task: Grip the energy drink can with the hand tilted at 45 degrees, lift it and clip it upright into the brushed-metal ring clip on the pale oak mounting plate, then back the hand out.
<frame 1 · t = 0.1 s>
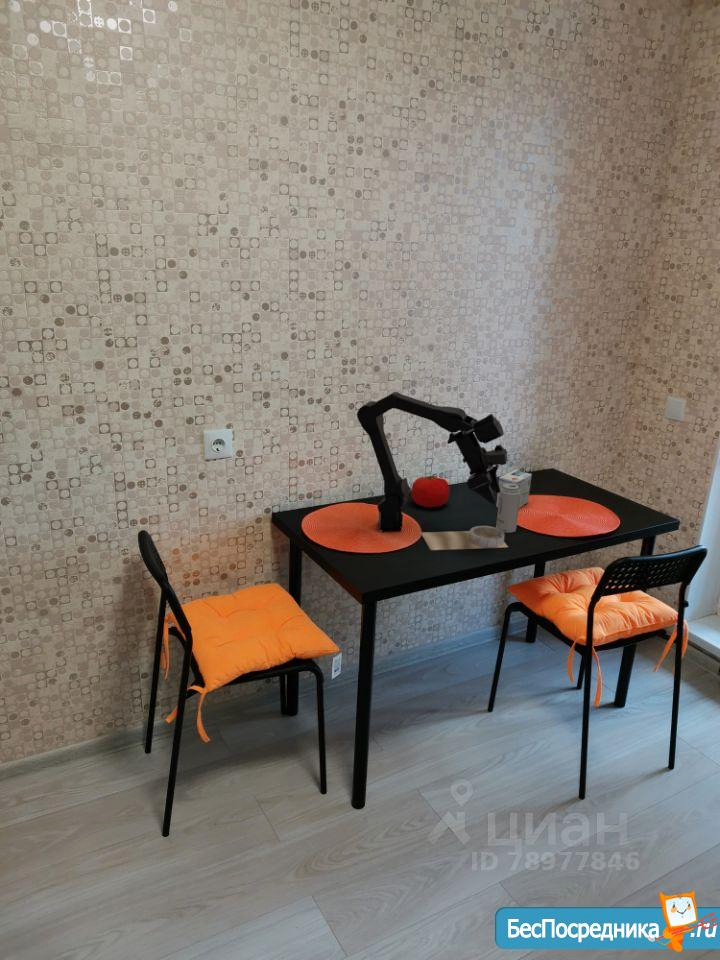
hand: (496, 497, 210), 15 cm above the table, tool tilted 35°, fingers open, 9 cm apart
mounting plate: (463, 543, 215), on the table
energy drink can: (505, 532, 224), on the table
light bulb box: (512, 506, 245), on the table
tomato: (429, 505, 242), on the table
ring clip: (486, 540, 215), resting on mounting plate
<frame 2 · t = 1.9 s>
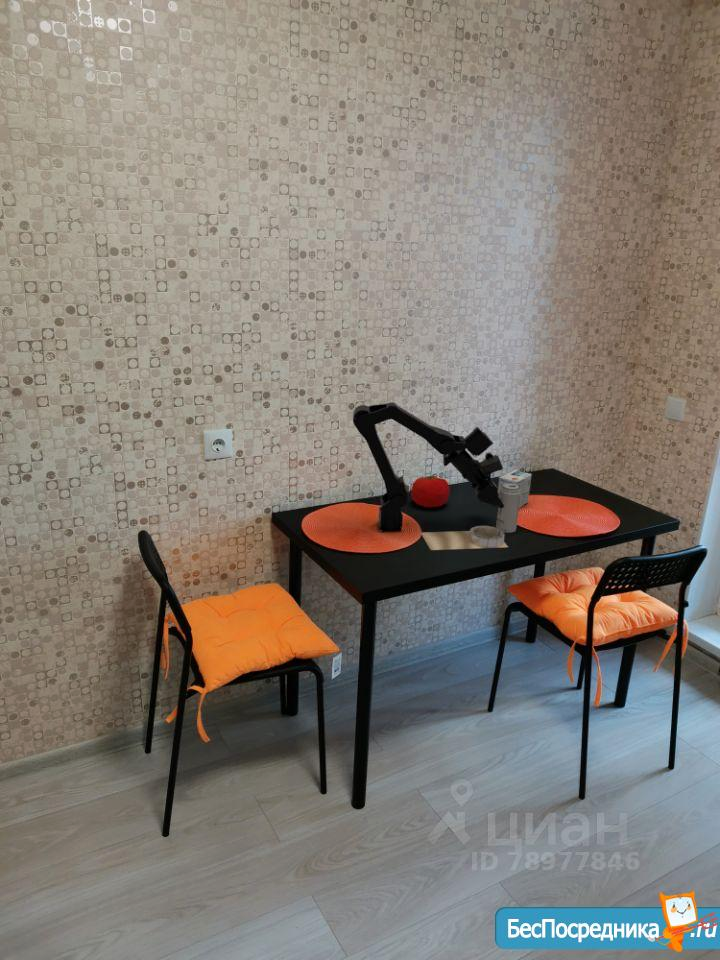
hand: (500, 501, 221), 10 cm above the table, tool tilted 45°, fingers open, 9 cm apart
nothing on the table moved.
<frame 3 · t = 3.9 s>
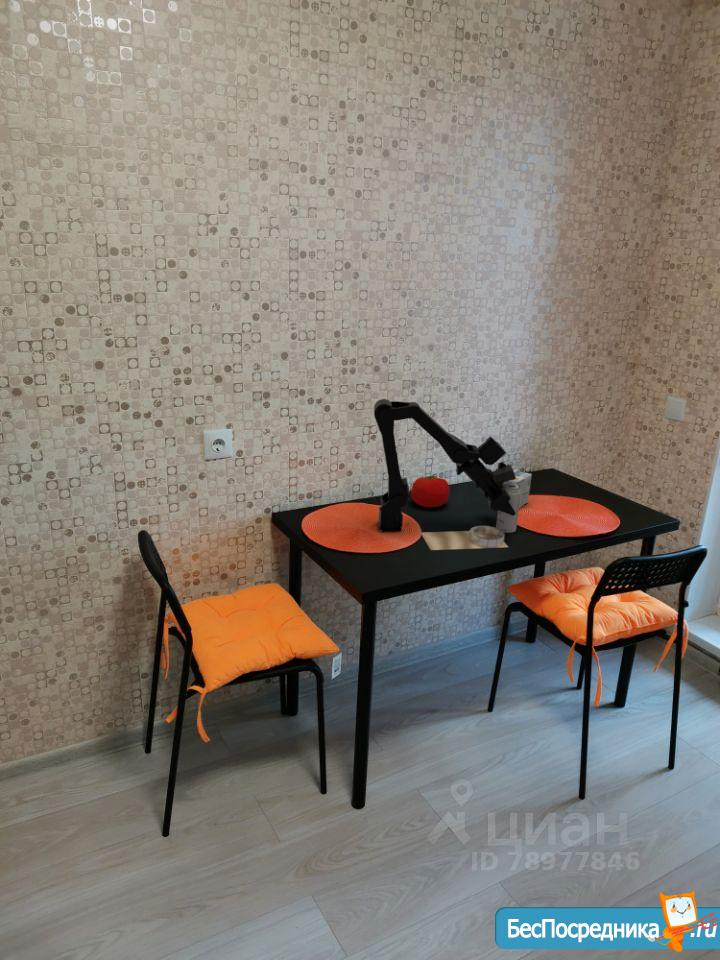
hand: (512, 510, 222), 7 cm above the table, tool tilted 45°, fingers closed on energy drink can, 6 cm apart
energy drink can: (505, 532, 224), on the table, touching gripper
everything else where it was.
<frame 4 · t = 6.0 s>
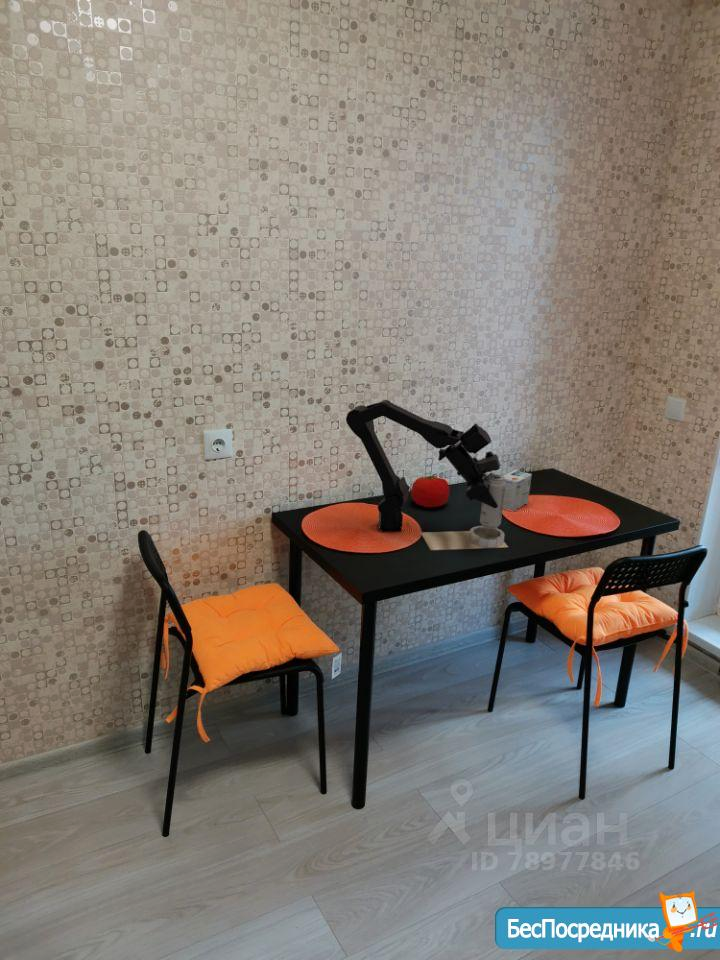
hand: (497, 503, 212), 13 cm above the table, tool tilted 45°, fingers closed on energy drink can, 6 cm apart
energy drink can: (489, 525, 214), point 5 cm above the table, touching gripper
everything else where it was.
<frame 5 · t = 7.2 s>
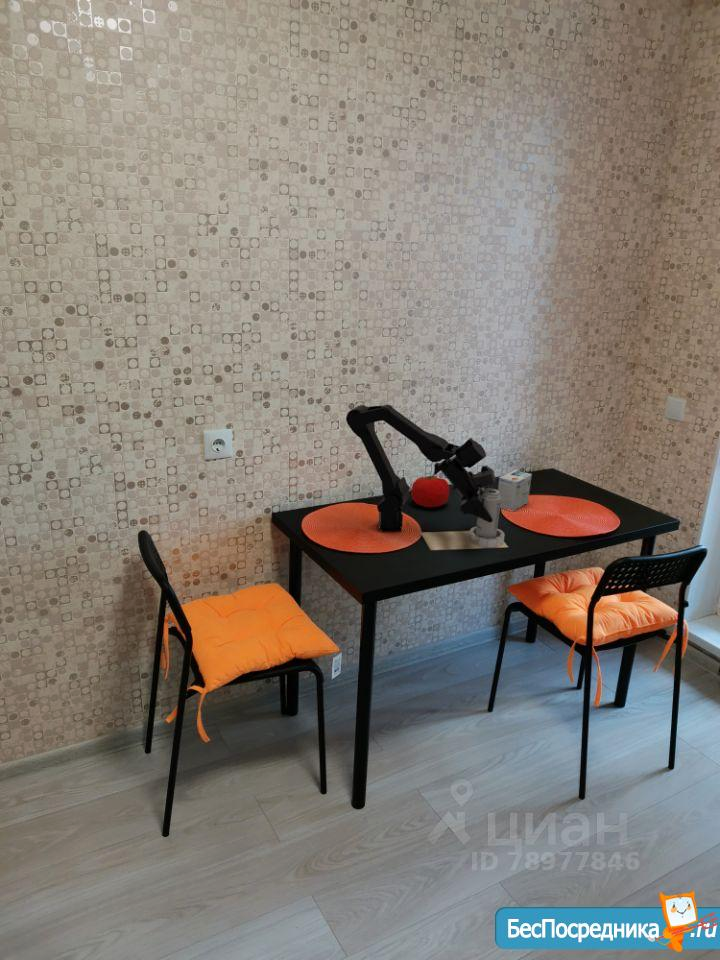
hand: (492, 517, 212), 9 cm above the table, tool tilted 45°, fingers closed on energy drink can, 6 cm apart
energy drink can: (485, 539, 215), point 1 cm above the table, touching gripper
everything else where it was.
when the fingers open (8 cm above the table, at t = 8.1 s): energy drink can stays where it is, resting on mounting plate.
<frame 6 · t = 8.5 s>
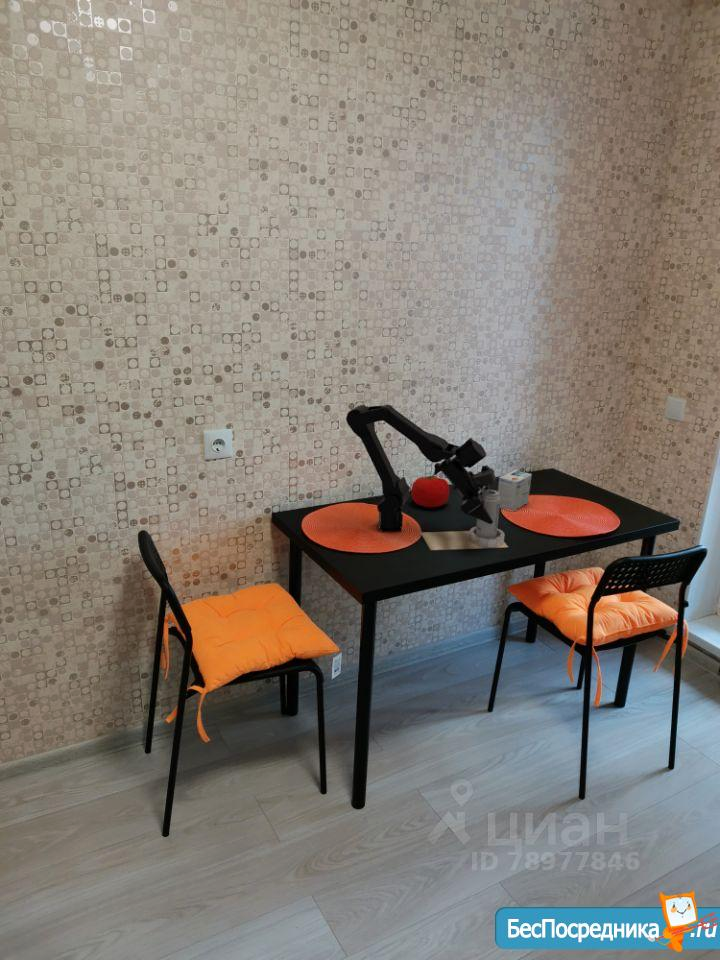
hand: (493, 517, 212), 9 cm above the table, tool tilted 45°, fingers open, 9 cm apart
energy drink can: (485, 540, 215), point 1 cm above the table, touching mounting plate
everything else where it was.
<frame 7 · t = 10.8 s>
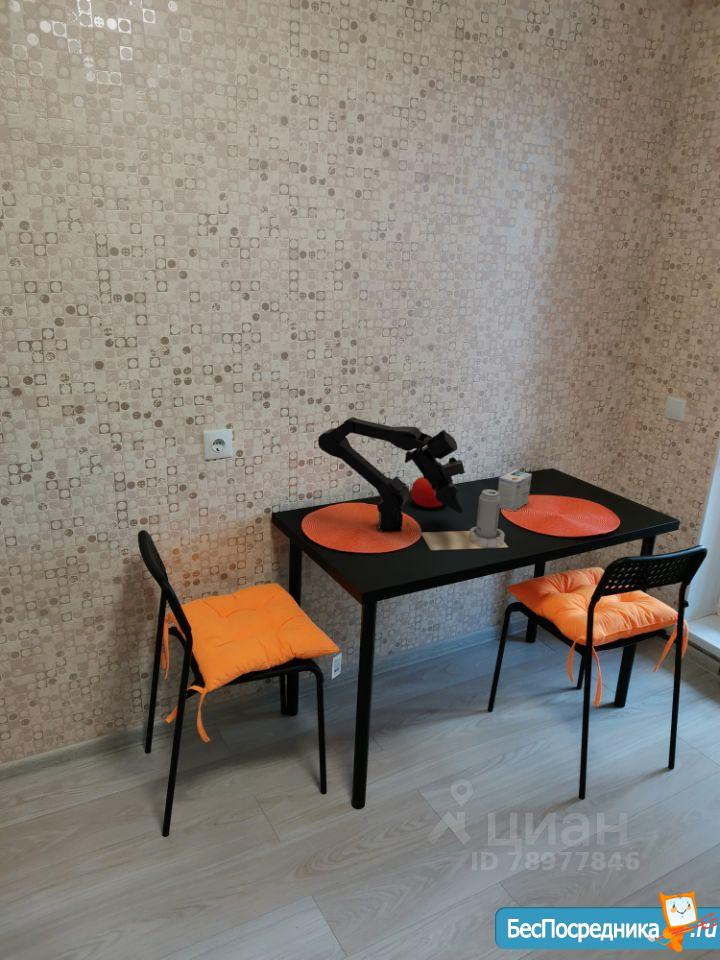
hand: (459, 508, 216), 9 cm above the table, tool tilted 40°, fingers open, 9 cm apart
nothing on the table moved.
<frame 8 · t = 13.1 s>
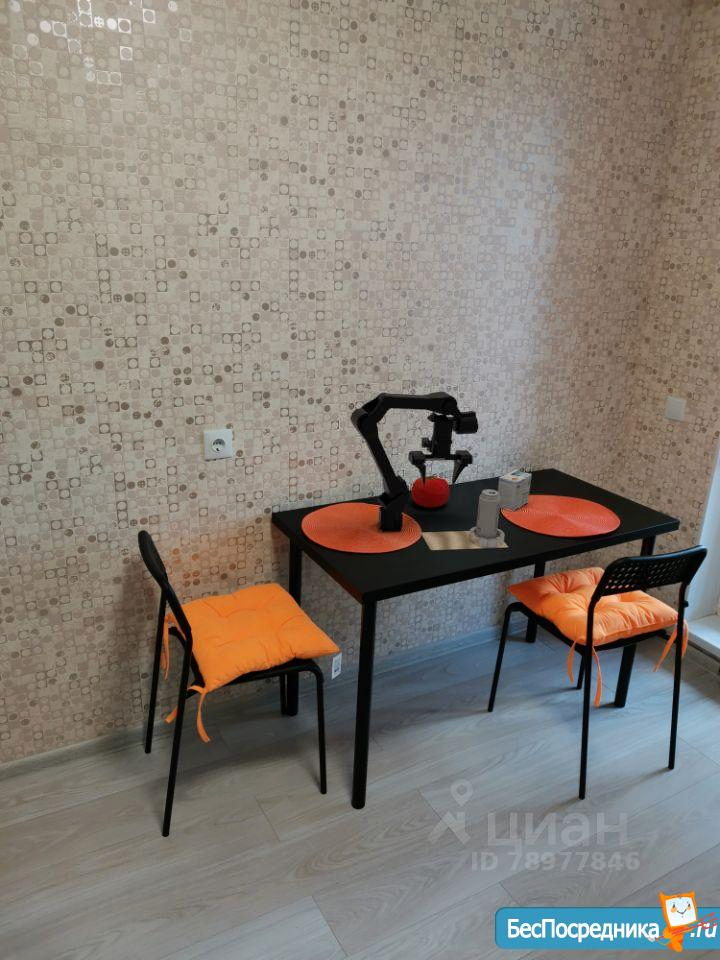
hand: (438, 484, 224), 13 cm above the table, tool pointing down, fingers open, 9 cm apart
nothing on the table moved.
at the end: energy drink can 0.2 cm off-centre on the ring clip, point 0.0 cm above the ring clip's base; energy drink can tilted 0°; the gripper is holding nothing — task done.
